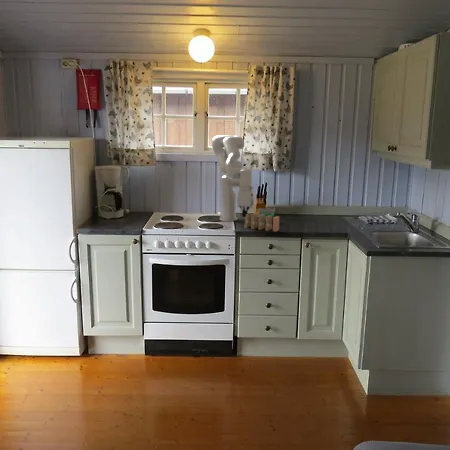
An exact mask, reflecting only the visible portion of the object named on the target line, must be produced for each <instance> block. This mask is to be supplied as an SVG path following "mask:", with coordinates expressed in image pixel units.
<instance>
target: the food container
mask: <svg viewBox="0 0 450 450" xmlns="http://www.w3.org/2000/svg"><path fill="white" fill-rule="evenodd" d="M276 210H277V209H276V207H275V206H274V207H272V208H271V207H267V208H261V207H259V208H258V212H259V216H260V215H265V224H266V217H267V216H269V215H270V216H272V224H273V218H274V217H275V212H276Z"/></svg>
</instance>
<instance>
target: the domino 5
mask: <svg viewBox="0 0 450 450" xmlns="http://www.w3.org/2000/svg"><path fill="white" fill-rule="evenodd" d="M279 230H280V216H274V218H273V223H272V232H278V231H279Z"/></svg>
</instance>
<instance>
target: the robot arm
mask: <svg viewBox="0 0 450 450" xmlns="http://www.w3.org/2000/svg"><path fill="white" fill-rule="evenodd" d="M244 147H245V140H244V138H243V137H242V136H239V135H234V134H233V135H232V134H231V135H230V134H228V135H226V134H225V135H222V134H221V135H220V134H219V135H215V136H214V137H213V138H212V140H211V148H212V150H213V153H214V154H215V157H216V159H217V162H218V167H219V171H220V173H221V174H223V175H222V176H221V179H220V184H221V185H220V186H221V212H217V213H216V214H217V215H216V216H219V219H218V220H220V221H223V222H234V221H238V217H236V212H237V211H236V207H237V208H239V209H241V215H242V218H246V214H247V213H249V212H248V211H249V210H250V209H253V208H254V206H255V205H254V199H255V198H254V191H253V190H254V186H252V179H253V178H252V176H253V175H252V174H253V173H252V170H251V169H250V168H247V167H243V164H242V162H241V161H240V160H238V159H240V158H241V152H240V150H242V149H244ZM234 189H239V190H238V192H237V194H236V192H235V190H234ZM236 195H237V197H236Z"/></svg>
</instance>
